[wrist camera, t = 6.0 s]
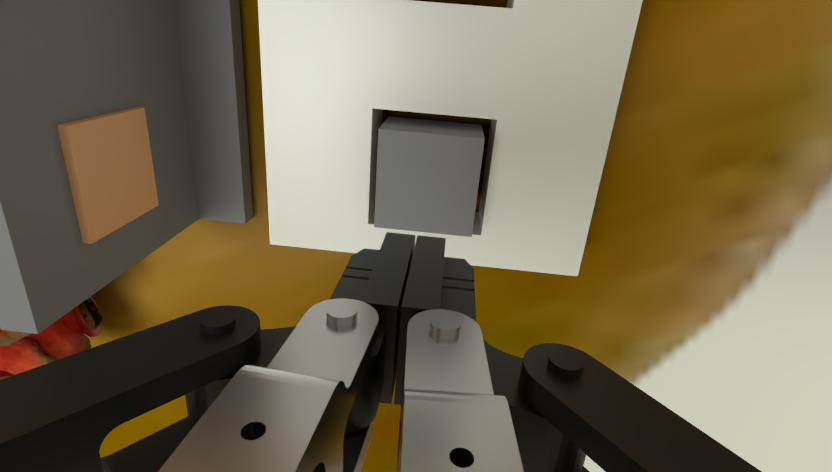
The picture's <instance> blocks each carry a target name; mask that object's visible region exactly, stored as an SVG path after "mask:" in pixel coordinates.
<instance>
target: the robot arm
mask: <svg viewBox="0 0 832 472" xmlns="http://www.w3.org/2000/svg"><path fill="white" fill-rule="evenodd" d="M445 241H446V238H439V237H430V236H420V235H418V236H417V240H416V244H415V235H410V234H400V233H391V232H387V233H386V235H385V238H384V241H383V243H382V246H381V248H380V250H374V249H365V248H364V249H362V250H361V251H359V252H358V253H356V254H354V255H353V256H351V258H350V260H349V262H348V264H347V266H346V268H345V270H344V272H343V274H342V277H341V278H340V280H339V282H338V284H337V286H336V288H335V290H334V292H333V294H332V296H331V298H330V300H326V301H322V302H320V303H317V304H316V305H314V306H312V307H311V308H310V309H309V310H308V311H307V312H306V314H305V315H304V316H303V318H302V319H301V320H300V322H299V323H298V325H297V326H294V327H288V328H278V329H265V330H260V320H259V317H258V316H257V315H256V314H255V313H254V312H253V311H251V310H249V309H247V308H243V307H239V306H216V307H211V308H207V309H203V310H200V311H197V312H194V313H191V314H189V315H186V316H183V317H180V318H177V319H174V320H171V321H168V322H165V323H163V324H160V325H157V326H154V327H151V328H148V329H145V330H142V331H140V332H137V333H134V334H131V335H128V336H125V337H122V338H119V339H117V340H114V341H111V342H108V343H105V344H102V345H99V346H96V347H94V348H91V349H88V350H85V351H82V352H79V353H76V354H73V355H70V356H68V357H65V358H62V359H59V360H56V361H53V362H50V363H47V364H45V365H42V366H39V367H36V368H33V369H30V370H27V371H24V372H22V373H19V374H16V375H13V376H10V377H7V378H4V379H1V380H0V472H360V470H361V467H362V464H363V461H364V458H365V455H366V452H367V449H368V446H369V443H370V439H371V436H372V432H373V420H374V418H375V416H376V413H377V410H378V405H379V402H381V403H389V404H391V401H392V396H393V391H394V386H395V381H396V387H395V401H394V404H399V405H401V415H400V427H399V439H398V455H397V472H589V471H588V470H587V469H586V468H584V466H583V464H584V461H585V457H586V455H587V456H589V457H590V458H591V459H592V460H593V461H594V462H595V463H597V464H598V465H599V466H600V467H601V468H602V469H604V470H605V471H606V472H761V471H760V470H758V469H757V468H755V467H754V466H752V465H751V464H749V463H748V462H746V461H745V460H743V459H742V458H740V457H739V456H738V455H736V454H734V453H733V452H732V451H730V450H729V449H727V448H725V447H724V446H723V445H721V444H720V443H718V442H717V441H715V440H714V439H712V438H711V437H709V436H708V435H707V434H705V433H704V432H702V431H700V430H699V429H698V428H696V427H695V426H693V425H692V424H690V423H689V422H687V421H686V420H684V419H683V418H681V417H680V416H678V415H677V414H675V413H674V412H673V411H671V410H670V409H668V408H667V407H665V406H663V405H662V404H661V403H659V402H658V401H656V400H655V399H653V398H652V397H651V396H649V395H647V394H646V393H645V392H643V391H642V390H640V389H639V388H637V387H636V386H634V385H633V384H631V383H630V382H628V381H627V380H625V379H624V378H622V377H621V376H620V375H618V374H617V373H615V372H614V371H612V370H611V369H609V368H608V367H606V366H605V365H603V364H602V363H600V362H599V361H597V360H596V359H594V358H593V357H592V356H590V355H588V354H587V353H585V352H583V351H581V350H579V349H576V348H573V347H570V346H567V345H562V344H555V343H545V344H539V345H535V346H533V347H531V348H530V349H528V350H527V351H526V353H525V354H524V357H523V358H520V357H517V356H513V355H510V354H508V353H505V352H502V351H500V350H498V349H496V348H494V347H493V346H491V345H490V344H488V343H487V342H486V341H485V340H484V339H483V336H482V331H481V328H480V327H479V325H478V324H477V323H476V308H475V292H474V290H475V287H474V269H473V268H472V267H471V266H470V264H469V263H468V262H467V261H466V260H465V259H460V258H451V257H444V253H445ZM183 395H185V397H186V404H187V411H188V417H186V418H184V419H182V420H180V421H178V422H176V423H174V424H172V425H170V426H168V427H166V428H164V429H162V430H160V431H158V432H156V433H154V434H152V435H150V436H148V437H146V438H144V439H142V440H140V441H138V442H136V443H133V444H131V445H129V446H127V447H125V448H123V449H121V450H119V451H117V452H115V453H113V454H111V455H109V456H106V457H102V458H100V454H99V450H100V446H101V443H102V441H103V440H104V438H105V437H106V436H107V435H108V434H109V432H110V431H112V430H113V429H114V428H116V427H117V426H118V425H120V424H122V423H124V422H126V421H129V420H131V419H133V418H135V417H137V416H139V415H142V414H144V413H146V412H148V411H150V410H152V409H155V408H157V407H159V406H161V405H163V404H166V403H168V402H170V401H172V400H174V399H176V398H179V397H181V396H183Z"/></svg>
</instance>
